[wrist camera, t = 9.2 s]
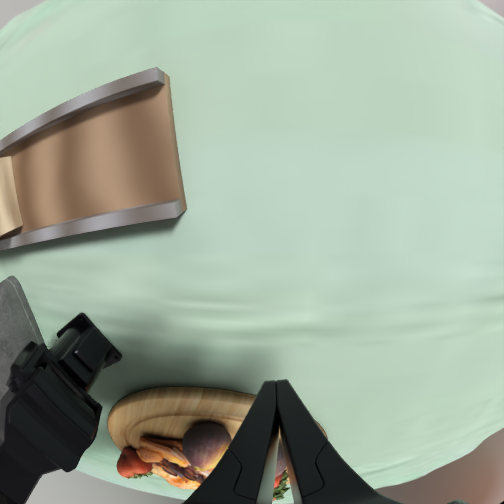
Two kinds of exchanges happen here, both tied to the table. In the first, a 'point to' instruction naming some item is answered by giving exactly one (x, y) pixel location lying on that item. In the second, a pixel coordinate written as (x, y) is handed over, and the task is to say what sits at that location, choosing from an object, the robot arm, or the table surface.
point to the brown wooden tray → (97, 162)
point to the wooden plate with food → (182, 434)
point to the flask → (14, 327)
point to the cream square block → (8, 198)
